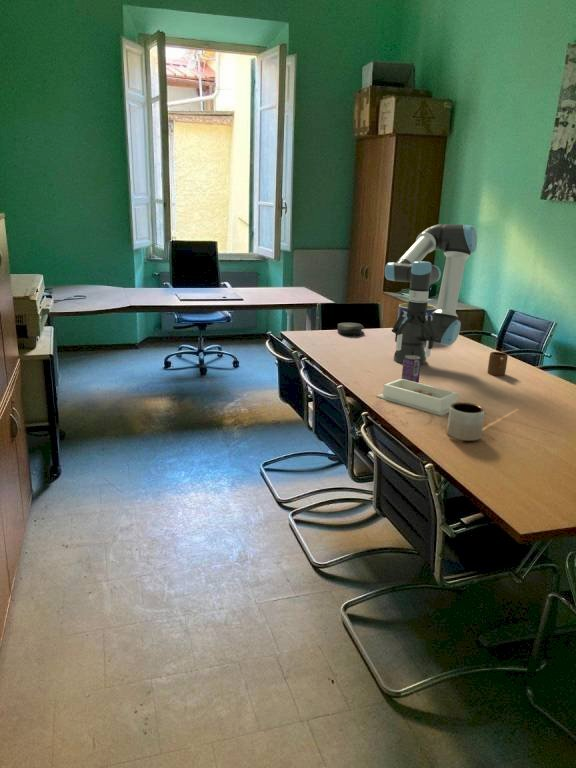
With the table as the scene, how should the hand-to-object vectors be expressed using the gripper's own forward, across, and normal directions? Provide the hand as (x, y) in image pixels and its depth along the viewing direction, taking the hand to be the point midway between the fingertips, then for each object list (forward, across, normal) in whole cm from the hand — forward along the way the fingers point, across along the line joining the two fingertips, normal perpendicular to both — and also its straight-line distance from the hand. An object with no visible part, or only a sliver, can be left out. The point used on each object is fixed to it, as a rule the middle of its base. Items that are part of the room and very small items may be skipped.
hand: (412, 353), depth 233 cm
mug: (+13, +18, +44) cm, 49 cm away
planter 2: (+14, +42, -34) cm, 56 cm away
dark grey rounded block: (+13, -74, +57) cm, 94 cm away
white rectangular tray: (+14, +14, -16) cm, 25 cm away
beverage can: (+14, 0, +1) cm, 14 cm away
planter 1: (+12, -45, +78) cm, 91 cm away
